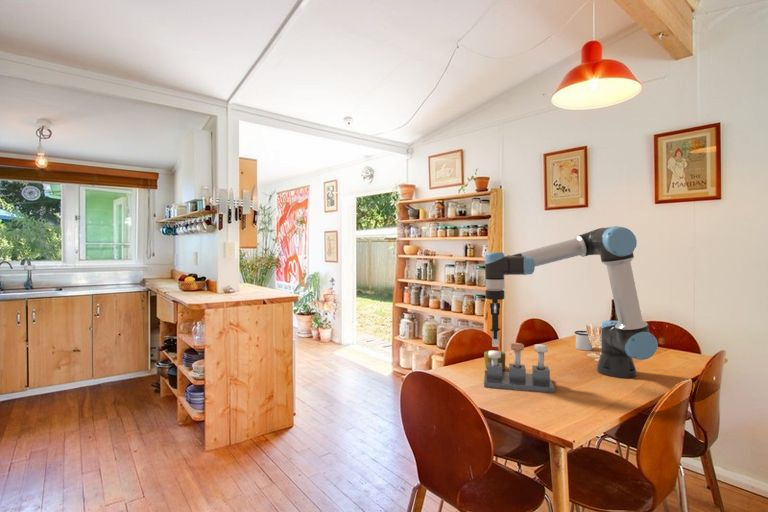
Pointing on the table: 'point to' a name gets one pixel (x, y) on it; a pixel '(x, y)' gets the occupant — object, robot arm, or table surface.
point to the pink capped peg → (517, 353)
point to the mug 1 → (500, 360)
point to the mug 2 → (583, 341)
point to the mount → (518, 378)
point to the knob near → (540, 354)
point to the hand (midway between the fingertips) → (495, 346)
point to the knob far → (494, 357)
